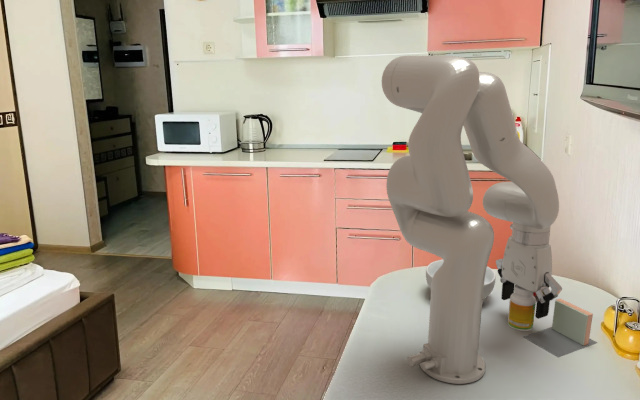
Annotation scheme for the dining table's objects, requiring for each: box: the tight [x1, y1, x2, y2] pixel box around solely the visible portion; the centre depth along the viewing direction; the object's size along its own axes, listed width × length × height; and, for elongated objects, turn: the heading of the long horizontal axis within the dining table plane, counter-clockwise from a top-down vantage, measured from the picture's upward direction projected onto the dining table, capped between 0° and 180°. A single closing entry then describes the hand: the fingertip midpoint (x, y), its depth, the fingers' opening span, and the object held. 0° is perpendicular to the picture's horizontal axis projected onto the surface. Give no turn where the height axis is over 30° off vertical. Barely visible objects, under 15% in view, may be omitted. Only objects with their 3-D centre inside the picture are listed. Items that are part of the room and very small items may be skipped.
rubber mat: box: [522, 326, 598, 358], centre depth 113 cm, size 12×9×1 cm
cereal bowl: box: [425, 258, 496, 300], centre depth 133 cm, size 17×17×7 cm
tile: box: [551, 298, 594, 346], centre depth 113 cm, size 2×8×7 cm, turn 27°
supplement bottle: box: [507, 284, 537, 332], centre depth 118 cm, size 5×5×10 cm
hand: (523, 307), depth 118 cm, fingers open, 9 cm apart
